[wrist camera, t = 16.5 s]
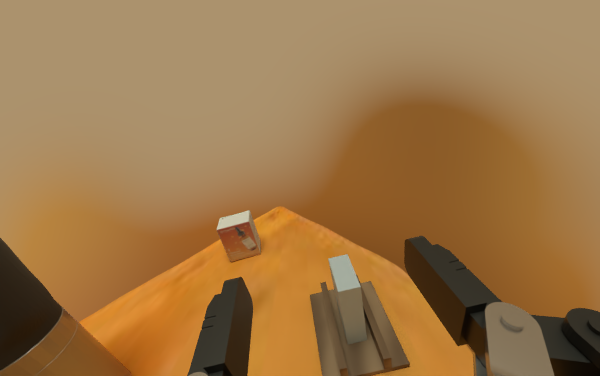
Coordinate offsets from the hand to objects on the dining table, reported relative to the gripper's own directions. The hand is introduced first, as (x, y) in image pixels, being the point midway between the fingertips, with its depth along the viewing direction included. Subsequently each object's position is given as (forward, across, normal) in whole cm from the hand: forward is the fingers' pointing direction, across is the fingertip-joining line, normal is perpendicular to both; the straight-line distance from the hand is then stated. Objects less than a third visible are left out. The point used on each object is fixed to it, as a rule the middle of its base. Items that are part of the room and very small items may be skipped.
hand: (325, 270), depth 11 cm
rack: (+14, -3, +30) cm, 33 cm away
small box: (+40, +18, +30) cm, 53 cm away
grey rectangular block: (+14, -3, +29) cm, 33 cm away
